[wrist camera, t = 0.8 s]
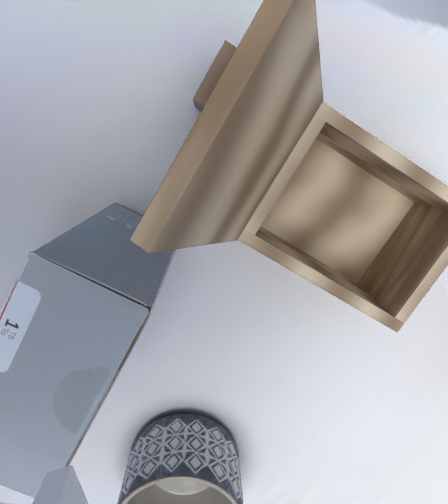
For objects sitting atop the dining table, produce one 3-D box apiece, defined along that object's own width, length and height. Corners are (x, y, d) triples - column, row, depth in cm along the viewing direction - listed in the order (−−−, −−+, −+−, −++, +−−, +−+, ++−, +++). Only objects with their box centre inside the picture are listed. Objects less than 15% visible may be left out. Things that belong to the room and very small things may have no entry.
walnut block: (195, 107, 40) (193, 98, 33) (222, 59, 39) (225, 40, 32) (239, 135, 40) (246, 132, 34) (267, 88, 39) (279, 76, 33)
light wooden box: (230, 218, 42) (237, 239, 33) (294, 113, 40) (322, 102, 30) (356, 292, 45) (397, 332, 35) (423, 197, 43) (486, 212, 33)
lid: (237, 239, 32) (224, 231, 32) (323, 101, 30) (309, 93, 30) (148, 252, 17) (126, 237, 17) (312, -32, 14) (283, -47, 15)
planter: (112, 471, 49) (88, 554, 39) (163, 389, 47) (151, 455, 37) (204, 512, 51) (204, 601, 41) (257, 435, 49) (270, 510, 39)
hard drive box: (113, 199, 41) (31, 244, 22) (181, 235, 43) (160, 307, 23) (51, 326, 44) (-68, 463, 25) (116, 356, 46) (50, 509, 26)
